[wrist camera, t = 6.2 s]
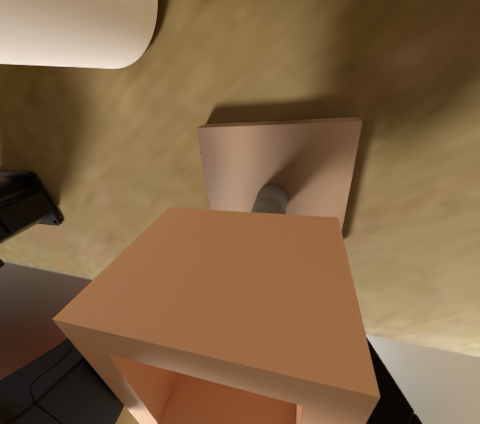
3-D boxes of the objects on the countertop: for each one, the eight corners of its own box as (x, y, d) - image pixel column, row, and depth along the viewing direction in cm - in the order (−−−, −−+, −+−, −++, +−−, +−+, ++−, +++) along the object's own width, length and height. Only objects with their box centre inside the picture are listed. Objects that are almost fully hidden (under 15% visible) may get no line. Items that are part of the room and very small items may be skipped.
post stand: (222, 235, 21) (193, 289, 16) (205, 124, 16) (154, 148, 11) (334, 245, 18) (346, 314, 13) (357, 116, 13) (392, 143, 8)
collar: (196, 307, 12) (141, 426, 8) (168, 207, 9) (52, 319, 5) (318, 329, 11) (327, 491, 6) (337, 217, 7) (380, 397, 3)
